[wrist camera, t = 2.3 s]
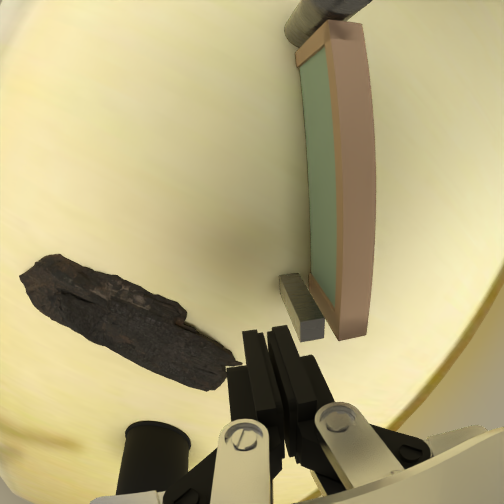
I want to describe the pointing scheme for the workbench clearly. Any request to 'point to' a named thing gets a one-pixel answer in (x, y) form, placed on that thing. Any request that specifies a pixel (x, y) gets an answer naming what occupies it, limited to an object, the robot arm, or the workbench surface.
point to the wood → (127, 321)
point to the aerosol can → (152, 458)
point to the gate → (340, 173)
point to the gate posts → (298, 32)
